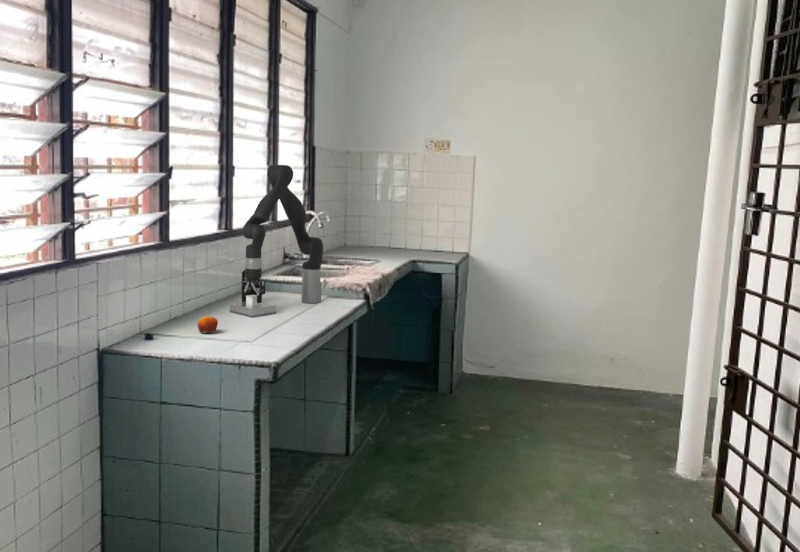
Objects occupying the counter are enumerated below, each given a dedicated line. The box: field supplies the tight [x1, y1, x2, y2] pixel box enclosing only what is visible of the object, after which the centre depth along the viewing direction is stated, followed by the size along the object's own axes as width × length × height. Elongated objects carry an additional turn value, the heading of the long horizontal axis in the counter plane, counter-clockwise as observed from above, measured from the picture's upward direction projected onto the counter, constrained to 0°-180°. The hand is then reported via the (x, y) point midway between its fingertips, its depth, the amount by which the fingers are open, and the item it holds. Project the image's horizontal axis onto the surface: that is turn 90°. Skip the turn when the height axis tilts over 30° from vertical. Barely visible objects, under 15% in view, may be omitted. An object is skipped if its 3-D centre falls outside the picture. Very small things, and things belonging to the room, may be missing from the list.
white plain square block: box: [246, 295, 260, 306], centre depth 335 cm, size 4×4×7 cm
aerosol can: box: [241, 269, 258, 302], centre depth 354 cm, size 8×8×20 cm
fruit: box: [196, 315, 219, 335], centre depth 293 cm, size 8×8×8 cm
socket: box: [229, 301, 277, 319], centre depth 335 cm, size 14×16×5 cm
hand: (253, 301), depth 335 cm, fingers open, 8 cm apart
